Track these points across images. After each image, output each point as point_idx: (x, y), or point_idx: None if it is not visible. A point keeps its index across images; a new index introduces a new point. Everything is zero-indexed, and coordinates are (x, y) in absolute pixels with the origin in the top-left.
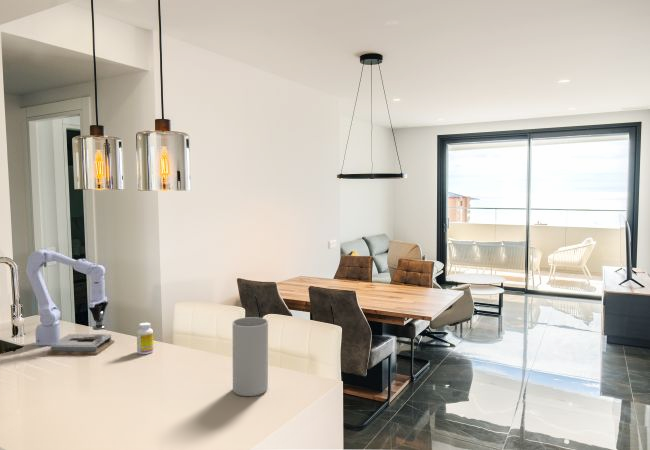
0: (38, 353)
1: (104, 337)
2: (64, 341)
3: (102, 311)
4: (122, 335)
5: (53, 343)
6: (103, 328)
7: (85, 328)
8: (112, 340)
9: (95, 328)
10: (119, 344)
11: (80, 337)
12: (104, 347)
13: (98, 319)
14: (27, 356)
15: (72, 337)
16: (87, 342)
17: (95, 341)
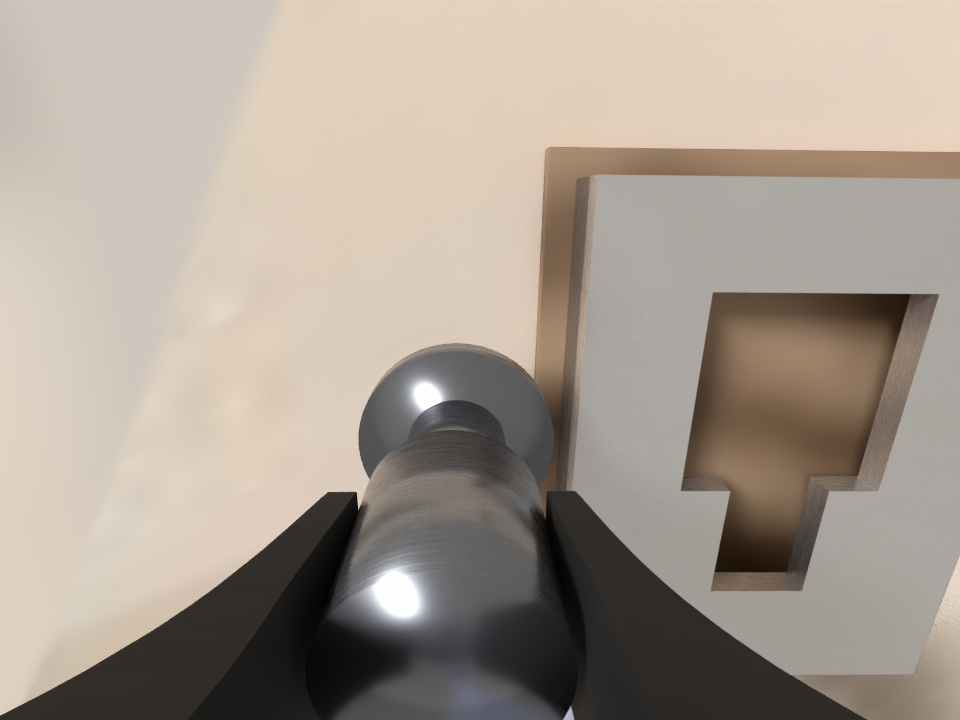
0: (807, 682)
1: (750, 211)
2: (829, 607)
3: (411, 594)
4: (249, 165)
5: (879, 669)
6: (494, 353)
7: (88, 660)
8: (558, 169)
9: (552, 455)
10: (635, 35)
11: (699, 519)
12: (839, 151)
13: (580, 499)
14: (864, 714)
15: (689, 597)
16: (947, 347)
17: (929, 259)
